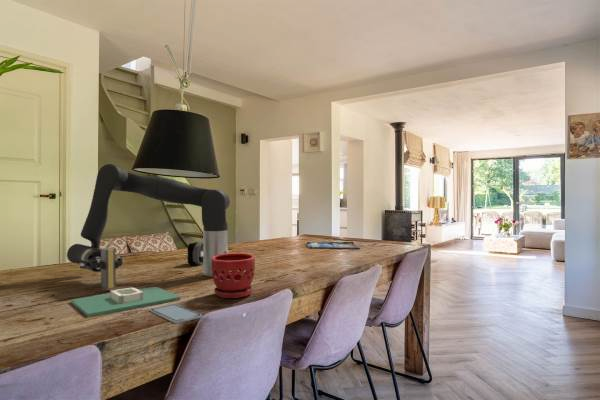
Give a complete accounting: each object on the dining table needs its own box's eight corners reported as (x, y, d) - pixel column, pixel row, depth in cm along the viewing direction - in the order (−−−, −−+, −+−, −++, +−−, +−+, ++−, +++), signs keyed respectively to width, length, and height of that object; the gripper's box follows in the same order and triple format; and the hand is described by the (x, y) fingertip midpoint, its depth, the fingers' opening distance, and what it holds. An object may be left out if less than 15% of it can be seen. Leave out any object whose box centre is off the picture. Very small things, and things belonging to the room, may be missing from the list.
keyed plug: (111, 284, 121) (111, 247, 121) (116, 287, 117) (116, 249, 117) (101, 285, 119) (100, 248, 119) (105, 288, 115) (105, 250, 115)
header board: (155, 288, 121) (155, 280, 121) (180, 299, 107) (180, 290, 107) (70, 302, 104) (70, 292, 104) (87, 317, 91) (87, 305, 91)
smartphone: (174, 303, 102) (203, 314, 92) (174, 306, 102) (203, 318, 92) (148, 309, 97) (175, 321, 86) (148, 312, 97) (175, 325, 86)
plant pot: (207, 292, 116) (208, 254, 116) (248, 288, 122) (248, 252, 122) (215, 302, 104) (215, 260, 104) (260, 298, 110) (260, 257, 110)
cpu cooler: (198, 266, 162) (198, 243, 162) (186, 266, 163) (186, 243, 163) (208, 262, 172) (208, 241, 172) (197, 262, 173) (197, 240, 174)
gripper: (72, 250, 124) (86, 256, 111) (117, 246, 133) (134, 251, 121) (72, 273, 124) (86, 280, 111) (117, 267, 133) (134, 274, 121)
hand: (111, 265), depth 116 cm, fingers closed on keyed plug, 3 cm apart
